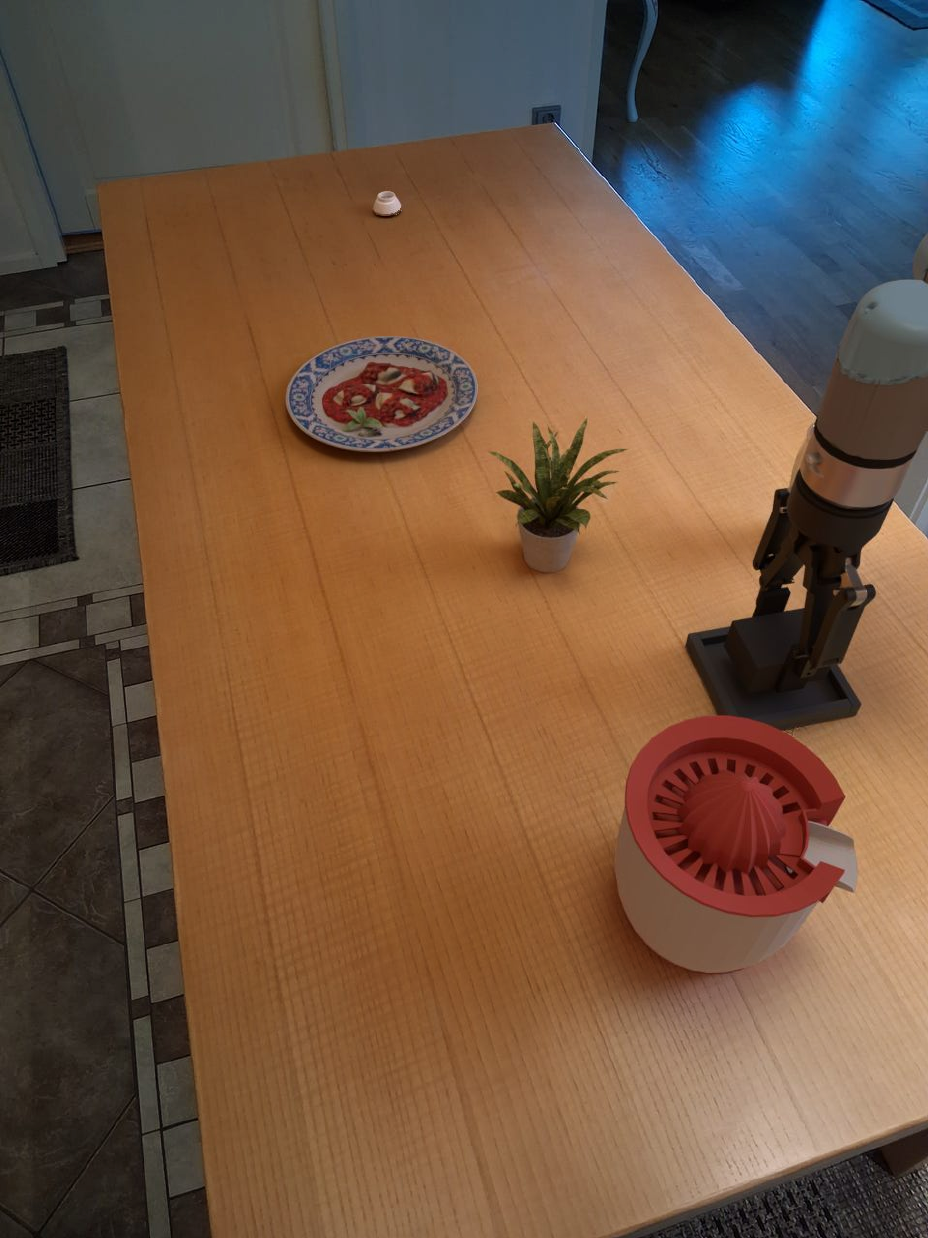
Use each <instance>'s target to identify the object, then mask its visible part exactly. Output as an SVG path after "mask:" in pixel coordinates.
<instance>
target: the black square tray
mask: <svg viewBox="0 0 928 1238" xmlns="http://www.w3.org/2000/svg"><path fill="white" fill-rule="evenodd" d="M730 626H731V625H728V626H724V627H718V628H713V629H707V630H701V631H696V632H690V633H688V634H687V637H686V640H685V648H686V650H687V652H688V654H689V657H690V658H691V661H692V662H693V665H694V667H695V669H696V671H697V673H698V676H699V678H700V679H701V681H702V685H703V686H704V688H705V690H706V692H707V694H708V696H709V699H710V700H711V702H712V703H711V704H712V705H713V707H714V709H715V711H716V713H717V716H719V715H727V716H734V717H742V718H748V719H751V720H754V721H758V722H761V723H765V724H768V725H770V726H772V727H774V728H776V729H779V730H781V731H785V730H790V729H796V728H800V727H805V726H811V725H817V724H822V723H826V722H832V721H836V720H841V719H846V718H851V717H855V716H857V714H858V712H859V710H860V709H861V707H862V702H861V700H860V699H859V697H858V695H857V694H856V692H855V690H854V689H853V687H852V686H851V684H850V682H849V681H848V679H847V677H846V675H845V674H844V672H843V671H842V669H841V667H840V666H839V664H837V665H832V666H831V668H830V670H829V672H828V674H827V676H826V678H825V679H823V680H817V681H812V682H807V683H806V685H805V687H804V688H803V689H798V690H793V691H788V692H782V693H777V691H776V690H775V689H770V690H764V691H759V692H754V693H748V692H747V691H746V689H745V687H744V685H743V683H742V681H741V679H740V677H739V675H738V673H737V671H736V669H735V667H734V665H733V663H732V661H731V659H730V657H729V655H728V653H727V651H726V649H725V647H724V644H725V641H726V638H727V635H728V632H729V629H730Z"/></svg>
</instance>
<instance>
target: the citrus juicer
mask: <svg viewBox="0 0 928 1238" xmlns="http://www.w3.org/2000/svg"><path fill="white" fill-rule="evenodd" d="M630 765H631V766H630V768H629V770H628V771H629V772H628V774H627V778H626V781H625V790H624V807H623V811H622V815H621V819H620V824H619V828H618V832H617V836H616V842H615V843H616V844H615V855H614V870H615V878H616V886H617V893H618V896H619V899H620V904H621V906H622V909H623V912H624V916H625V918H626V920H627V921H628V923H629V925H630V926H631V928H632V929H633V932H634V933H635V934H636V936H637V937H638V938H639V939H640V941H642V943H643V944H644V945H645V947H646V948H648V949H649V950H650V951H651V952H652V953H653V954H655V955H656V956H657V957H658V958H660V959H661V960H663V961H665V962H667V963H668V964H670V965H672V966H673V967H676V968H679V969H682V970H683V971H684V970H685V971H687V972H690V973H697V974H703V975H727V974H730V973H735V972H740V971H742V970H744V969H746V968H750V967H753V966H754V965H756V964H758V963H760V962H762V961H764V960H766V959H768V958H769V957H771V956H772V955H774V954H776V953H777V952H778V951H779V950H781V948H783V947H784V946H785V945H786V944H787V943H789V942H790V941H791V939H792V938H793V937H794V936H795V935H796V934H797V933H798V931H799V930H800V929H801V928H802V926H803V925H804V923H805V922H806V920H807V919H808V917H809V916H810V915H811V913H812V912H813V910H814V909H815V908H816V906H817V905H818V903H821V904H824V902H826V900H827V898H828V896H829V895H830V893H831V892H832V891H833V890H834V888H835V887H836V888H839V889H841V890H843V891H847V892H850V893H853V894H855V891H856V889H857V884H858V879H859V878H858V877H859V876H858V875H859V869H858V867H859V866H858V859H857V853H856V847H855V841H854V838H853V836H851V835H849V834H848V833H846V832H844V831H840V830H838V829H836V828H833V827H830V824H831V823H832V822H833V820H834V819H835V817H836V816H837V814H838V812H839V810H840V808H841V806H842V804H843V802H844V800H845V798H846V795H845V793H844V791H843V789H842V787H841V786H840V784H839V782H838V780H837V778H836V777H835V775H834V773H832V771H831V770H830V769H829V768H828V766H827V765H826V764H825V763H824V762H823V761H822V759H821V758H820V757H819V756H818V755H817V754H816V753H814V752H813V751H812V750H811V749H810V748H809V747H808V746H806V744H804V743H803V742H801V741H799V740H798V739H797V738H795V737H794V736H792V735H790V734H789V733H787V732H785V731H784V730H779V729H776V728H774V727H772V726H770V725H768V724H765V723H761V722H758V721H754V720H751V719H748V718H742V717H734V716H727V715H702V716H697V717H691V718H688V719H684V720H682V721H679V722H677V723H675V724H672V725H670V726H667V727H666V728H665V729H663V730H662V731H660V732H659V733H657V734H655V735H654V736H653V737H652V738H651V739H650V740H648V741H647V743H646V744H645V745H644V746H643V747H641V749H640V750H639V751H638V753H637V755H636V757H635V758H634V760H633V762H632V764H630Z"/></svg>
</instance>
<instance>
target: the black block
mask: <svg viewBox="0 0 928 1238" xmlns="http://www.w3.org/2000/svg"><path fill="white" fill-rule="evenodd" d="M803 613H804V607H801V608H794V609H791V610H784V612H779V613H773V614H768V615H762V616H756V617H752V616H751V617H750V616H749V617H745V618H739V619H734V620H732V621H731V622H730V625H729V626H730V629H729V632H728V635H727V638H726V641H725V644H724V647H725V649H726V651H727V653H728V655H729V657H730V659H731V661H732V663H733V665H734V667H735V669H736V671H737V673H738V675H739V677H740V679H741V681H742V683H743V685H744V687H745V689H746V691H747V692H748V693H754V692H759V691H764V690H770V689H775V688H774V687H775V685H776V682H777V680H778V678H779V675H780V673H781V670H782V668H783V666H784V662H785V660H786V658H787V655H788V653H789V650H790V648H791V646H792V645H794V644H799V640H800V634H801V627H802V620H803ZM830 668H831V666H827V667H821V668H817V671H816V673H815V675H813V676H811V677H809V678H808V681H807V682H812V681H817V680H823V679H825V678H826V676H827V674H828V672H829V670H830Z"/></svg>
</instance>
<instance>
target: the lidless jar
mask: <svg viewBox="0 0 928 1238" xmlns="http://www.w3.org/2000/svg"><path fill="white" fill-rule="evenodd" d="M401 206H402V203H401V202H400V201H399V198H398V197H397V196H396V193H394V192H393V191H389V190H385V191H381V192H379V193H378V194H377V196H376V199H375V201H374V204H373V206H372V211H373V210H374V211H375V212H378V213H381V214H391V213H395V212H397V211H398V210H400V208H401Z"/></svg>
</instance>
